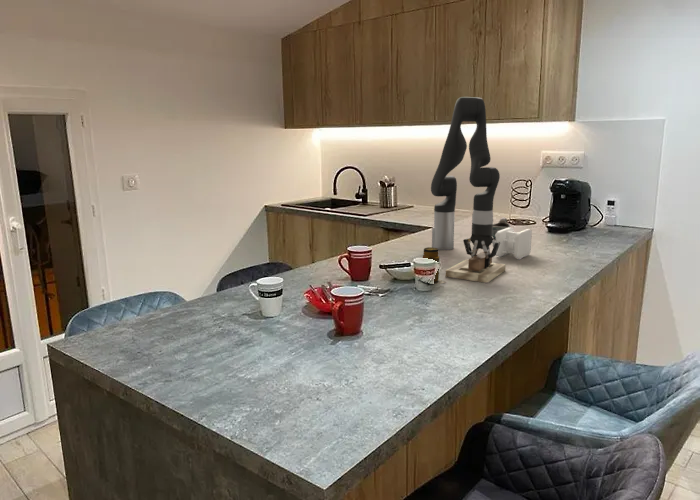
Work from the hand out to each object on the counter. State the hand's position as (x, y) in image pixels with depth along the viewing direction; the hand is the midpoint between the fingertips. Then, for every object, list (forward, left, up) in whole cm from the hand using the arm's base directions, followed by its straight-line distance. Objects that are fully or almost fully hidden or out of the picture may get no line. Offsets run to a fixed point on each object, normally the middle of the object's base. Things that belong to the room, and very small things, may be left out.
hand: (480, 266), depth 198 cm
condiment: (-12, -18, -3) cm, 22 cm away
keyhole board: (-2, 0, -3) cm, 3 cm away
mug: (-16, +70, -3) cm, 72 cm away
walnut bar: (0, 0, -2) cm, 2 cm away
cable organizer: (+1, +35, -3) cm, 35 cm away
